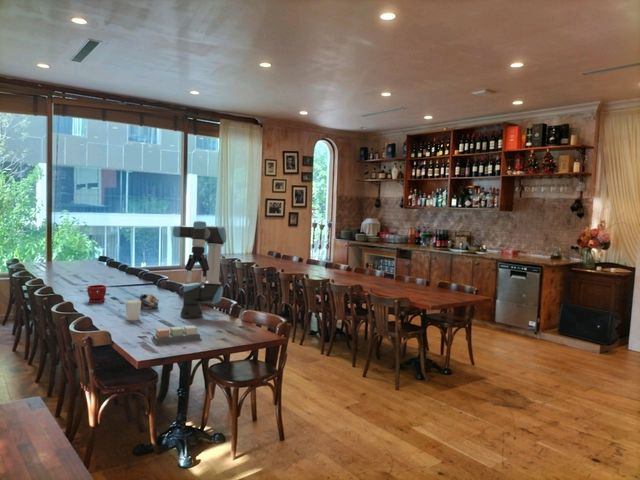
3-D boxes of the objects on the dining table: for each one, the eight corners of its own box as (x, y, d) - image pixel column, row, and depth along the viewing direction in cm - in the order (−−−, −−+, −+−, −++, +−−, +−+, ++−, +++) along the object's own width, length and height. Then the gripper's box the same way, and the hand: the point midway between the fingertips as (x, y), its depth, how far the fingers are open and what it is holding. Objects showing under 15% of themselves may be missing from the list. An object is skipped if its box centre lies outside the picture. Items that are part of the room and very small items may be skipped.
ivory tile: (183, 332, 290) (184, 326, 289) (193, 331, 293) (194, 325, 292) (186, 335, 285) (186, 328, 284) (196, 334, 288) (197, 327, 287)
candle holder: (122, 318, 328) (123, 300, 327) (136, 316, 335) (137, 299, 334) (129, 321, 321) (129, 303, 321) (143, 319, 329) (144, 301, 328)
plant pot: (99, 299, 386) (100, 284, 385) (109, 301, 378) (109, 286, 377) (83, 301, 375) (83, 285, 374) (92, 303, 368) (93, 288, 367)
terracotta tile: (156, 335, 282) (156, 328, 281) (166, 334, 285) (166, 327, 284) (158, 338, 276) (158, 331, 276) (169, 337, 280) (169, 330, 279)
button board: (151, 339, 283) (151, 333, 283) (195, 335, 297) (195, 329, 296) (155, 344, 273) (155, 339, 273) (201, 340, 286) (201, 334, 286)
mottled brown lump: (161, 306, 370) (163, 292, 363) (153, 315, 359) (156, 301, 353) (142, 299, 370) (144, 285, 363) (134, 308, 359) (136, 294, 353)
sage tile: (170, 334, 286) (170, 327, 285) (180, 333, 289) (180, 326, 288) (172, 336, 281) (172, 329, 280) (183, 335, 284) (183, 328, 283)
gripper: (180, 246, 301) (178, 280, 300) (206, 246, 286) (204, 282, 284) (190, 247, 307) (188, 281, 305) (216, 247, 292) (214, 282, 290)
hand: (196, 281), depth 295 cm, fingers open, 13 cm apart
